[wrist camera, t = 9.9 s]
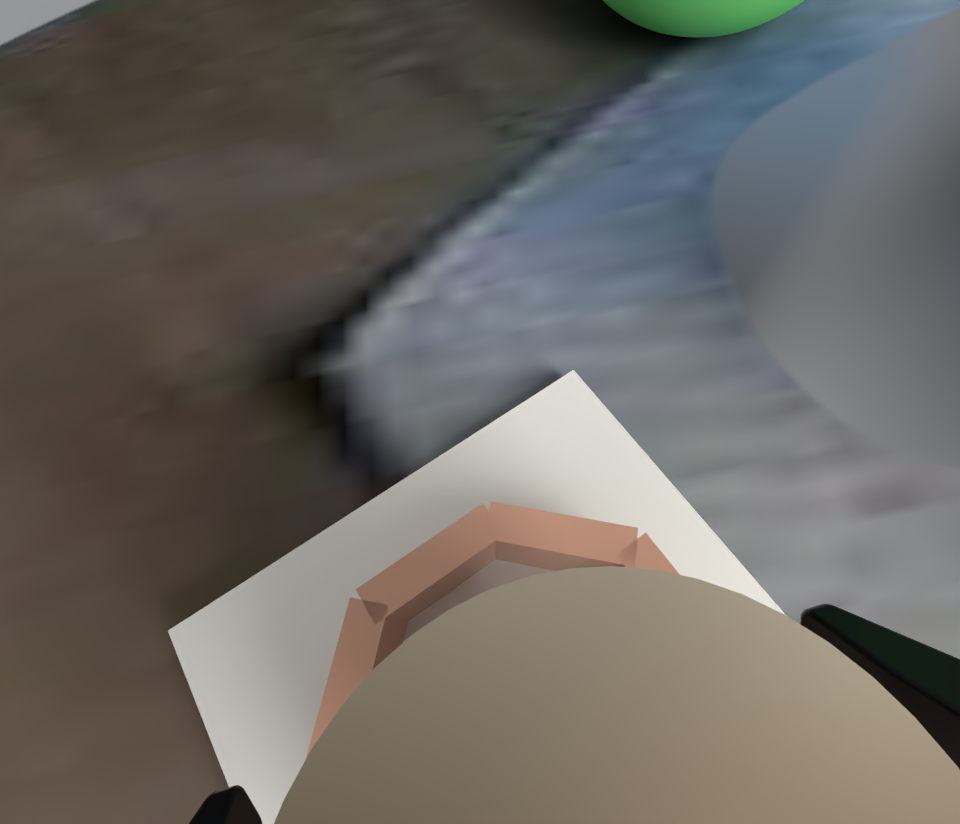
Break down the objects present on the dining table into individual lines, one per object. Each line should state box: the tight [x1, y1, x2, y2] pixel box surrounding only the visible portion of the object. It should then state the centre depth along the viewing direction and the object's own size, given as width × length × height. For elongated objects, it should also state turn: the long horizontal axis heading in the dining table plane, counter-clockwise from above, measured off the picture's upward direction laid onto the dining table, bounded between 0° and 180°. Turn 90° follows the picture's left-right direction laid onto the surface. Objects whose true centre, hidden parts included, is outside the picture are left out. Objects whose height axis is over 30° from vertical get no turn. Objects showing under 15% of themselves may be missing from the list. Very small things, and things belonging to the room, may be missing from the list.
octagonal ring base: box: [168, 370, 785, 824], centre depth 14 cm, size 16×16×4 cm
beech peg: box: [274, 566, 960, 824], centre depth 9 cm, size 5×5×13 cm
